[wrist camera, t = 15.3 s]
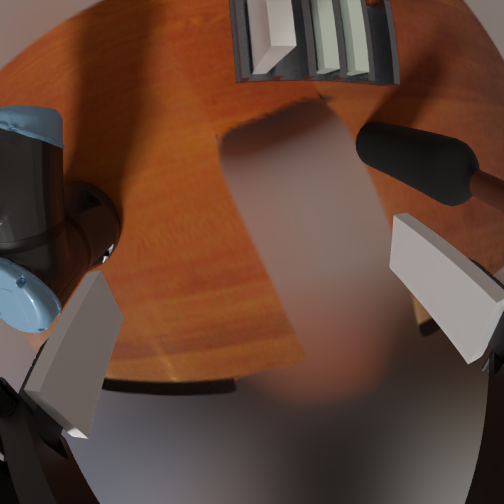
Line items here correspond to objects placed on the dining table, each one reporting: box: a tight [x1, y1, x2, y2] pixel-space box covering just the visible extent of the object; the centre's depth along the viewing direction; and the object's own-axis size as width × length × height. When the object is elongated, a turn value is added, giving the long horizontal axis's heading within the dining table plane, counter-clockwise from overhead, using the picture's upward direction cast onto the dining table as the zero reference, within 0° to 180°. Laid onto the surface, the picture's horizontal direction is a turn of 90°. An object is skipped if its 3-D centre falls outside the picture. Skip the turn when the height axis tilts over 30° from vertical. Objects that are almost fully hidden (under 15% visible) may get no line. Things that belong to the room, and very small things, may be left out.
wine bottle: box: [356, 122, 504, 213], centre depth 27 cm, size 8×8×30 cm
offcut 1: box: [309, 0, 340, 74], centre depth 28 cm, size 2×12×6 cm, turn 4°
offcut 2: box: [338, 0, 369, 76], centre depth 29 cm, size 2×12×6 cm, turn 5°
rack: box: [229, 0, 400, 86], centre depth 30 cm, size 23×14×6 cm, turn 95°
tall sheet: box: [245, 0, 296, 74], centre depth 23 cm, size 2×12×18 cm, turn 5°
